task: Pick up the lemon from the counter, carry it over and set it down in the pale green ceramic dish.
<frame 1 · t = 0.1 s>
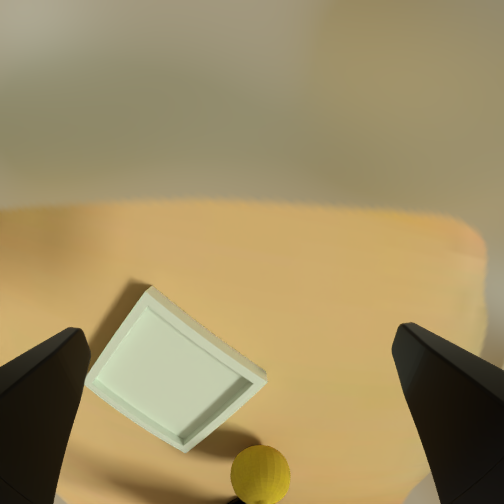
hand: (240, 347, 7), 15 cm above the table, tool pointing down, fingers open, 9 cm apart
lemon: (257, 446, 26), on the table
dish: (170, 376, 24), on the table
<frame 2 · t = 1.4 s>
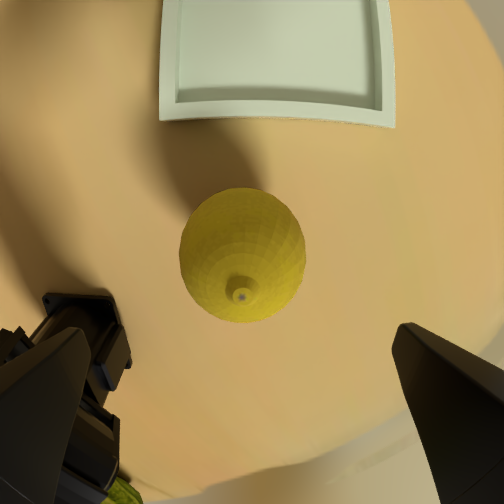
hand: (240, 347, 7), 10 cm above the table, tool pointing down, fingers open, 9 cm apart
lemon: (242, 223, 17), on the table
dish: (278, 20, 12), on the table
lettuce: (72, 454, 30), on the table
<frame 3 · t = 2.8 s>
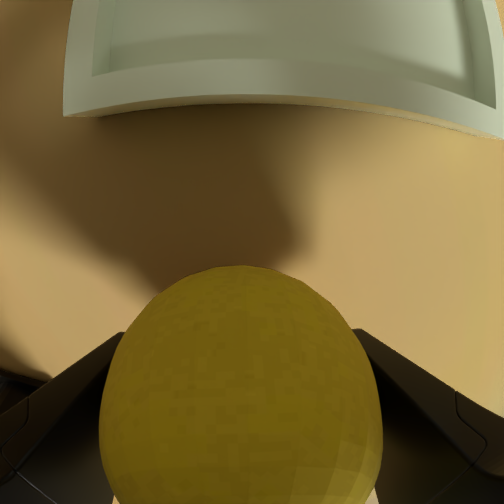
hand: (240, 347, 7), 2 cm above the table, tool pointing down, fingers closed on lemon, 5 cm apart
lemon: (239, 302, 9), on the table, touching gripper
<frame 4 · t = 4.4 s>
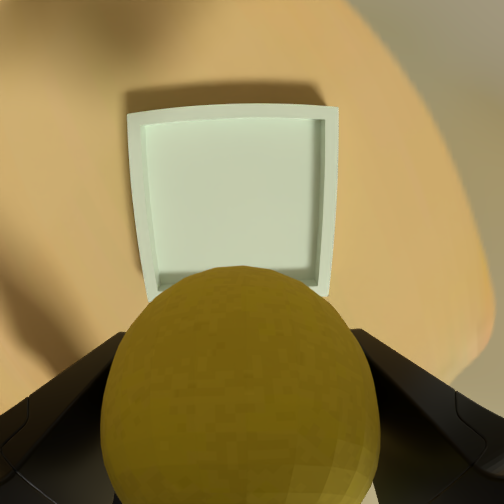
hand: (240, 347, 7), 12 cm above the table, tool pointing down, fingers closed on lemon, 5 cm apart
lemon: (239, 302, 10), point 10 cm above the table, touching gripper
dish: (234, 202, 19), on the table
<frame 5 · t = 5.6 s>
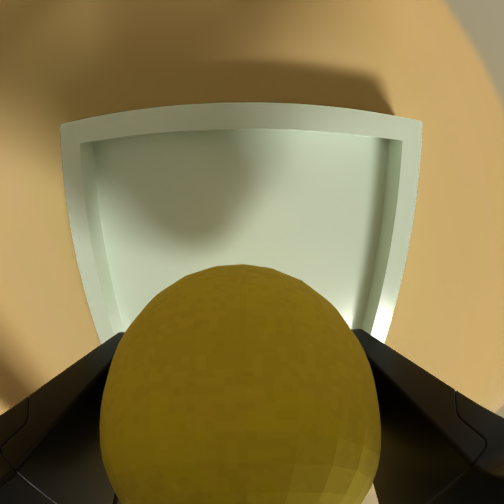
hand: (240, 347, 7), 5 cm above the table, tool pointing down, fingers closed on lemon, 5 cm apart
lemon: (239, 301, 10), point 2 cm above the table, touching gripper
dish: (241, 266, 12), on the table
when the fingers open (4 cm above the table, at t = 6.1 s): lemon drops 1 cm, resting on dish.
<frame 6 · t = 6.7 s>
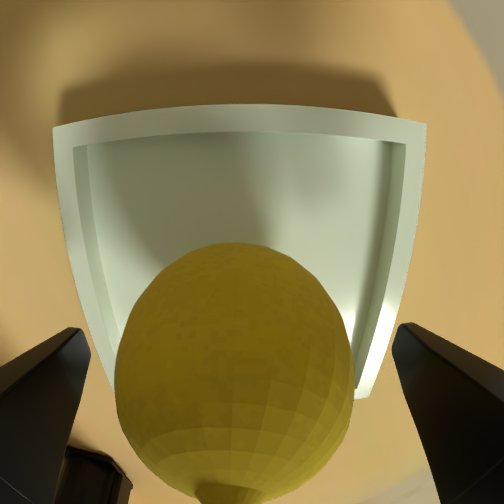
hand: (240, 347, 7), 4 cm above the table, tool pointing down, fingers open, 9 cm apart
lemon: (238, 282, 11), point 1 cm above the table, touching dish
dish: (239, 273, 11), on the table
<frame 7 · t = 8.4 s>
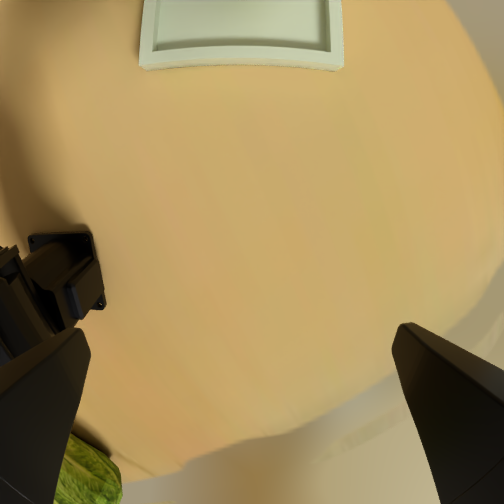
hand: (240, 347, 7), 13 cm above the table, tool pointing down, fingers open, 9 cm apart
lettuce: (53, 424, 30), on the table
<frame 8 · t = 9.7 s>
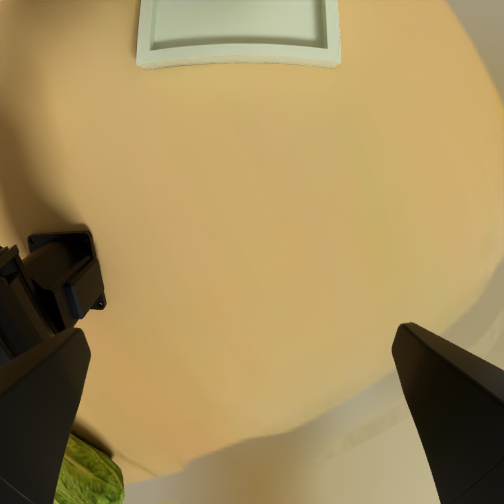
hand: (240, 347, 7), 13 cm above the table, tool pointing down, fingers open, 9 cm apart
lettuce: (55, 426, 30), on the table
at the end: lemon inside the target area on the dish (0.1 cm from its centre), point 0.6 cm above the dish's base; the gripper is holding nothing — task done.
